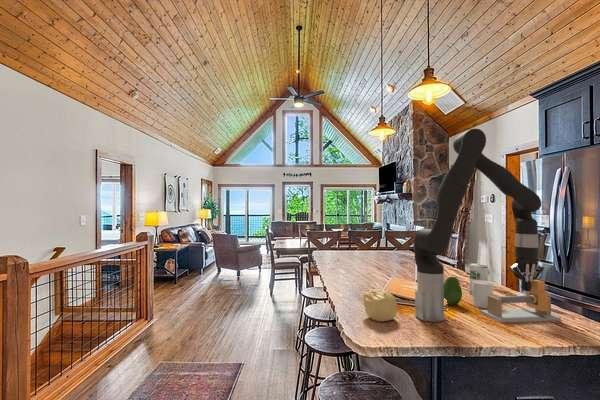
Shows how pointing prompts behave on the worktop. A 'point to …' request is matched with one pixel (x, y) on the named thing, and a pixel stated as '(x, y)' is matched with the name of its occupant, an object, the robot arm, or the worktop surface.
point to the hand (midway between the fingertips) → (526, 290)
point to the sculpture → (380, 305)
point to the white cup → (481, 292)
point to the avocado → (452, 291)
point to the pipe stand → (517, 310)
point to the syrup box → (478, 273)
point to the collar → (539, 290)
